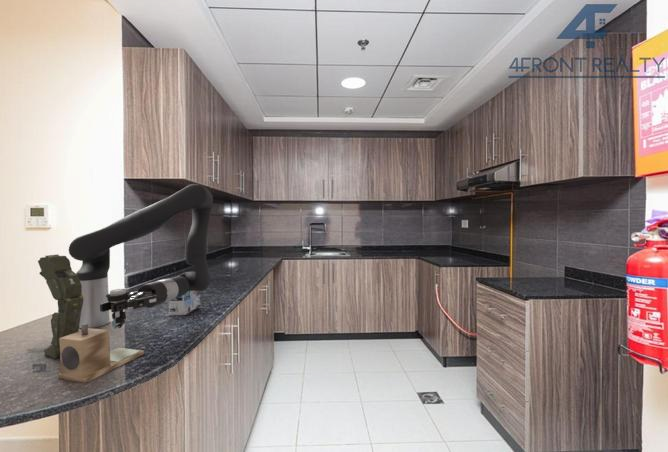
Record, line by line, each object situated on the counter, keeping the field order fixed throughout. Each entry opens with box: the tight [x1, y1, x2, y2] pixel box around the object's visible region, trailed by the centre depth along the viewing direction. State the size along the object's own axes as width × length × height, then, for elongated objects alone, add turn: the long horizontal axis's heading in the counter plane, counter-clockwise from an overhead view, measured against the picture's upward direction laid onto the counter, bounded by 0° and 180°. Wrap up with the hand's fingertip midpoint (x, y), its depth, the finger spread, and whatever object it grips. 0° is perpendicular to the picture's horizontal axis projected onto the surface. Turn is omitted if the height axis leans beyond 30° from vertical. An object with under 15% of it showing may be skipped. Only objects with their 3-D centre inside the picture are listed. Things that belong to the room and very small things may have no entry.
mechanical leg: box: [37, 254, 83, 360], centre depth 91 cm, size 14×7×30 cm, turn 71°
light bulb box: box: [168, 291, 197, 316], centre depth 130 cm, size 11×7×11 cm, turn 179°
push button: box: [106, 288, 130, 330], centre depth 87 cm, size 7×5×10 cm
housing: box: [57, 324, 145, 384], centre depth 83 cm, size 16×9×12 cm, turn 164°
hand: (106, 308), depth 84 cm, fingers closed on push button, 3 cm apart
